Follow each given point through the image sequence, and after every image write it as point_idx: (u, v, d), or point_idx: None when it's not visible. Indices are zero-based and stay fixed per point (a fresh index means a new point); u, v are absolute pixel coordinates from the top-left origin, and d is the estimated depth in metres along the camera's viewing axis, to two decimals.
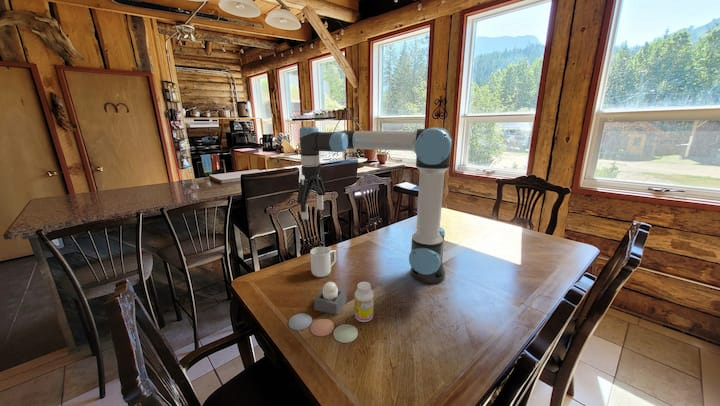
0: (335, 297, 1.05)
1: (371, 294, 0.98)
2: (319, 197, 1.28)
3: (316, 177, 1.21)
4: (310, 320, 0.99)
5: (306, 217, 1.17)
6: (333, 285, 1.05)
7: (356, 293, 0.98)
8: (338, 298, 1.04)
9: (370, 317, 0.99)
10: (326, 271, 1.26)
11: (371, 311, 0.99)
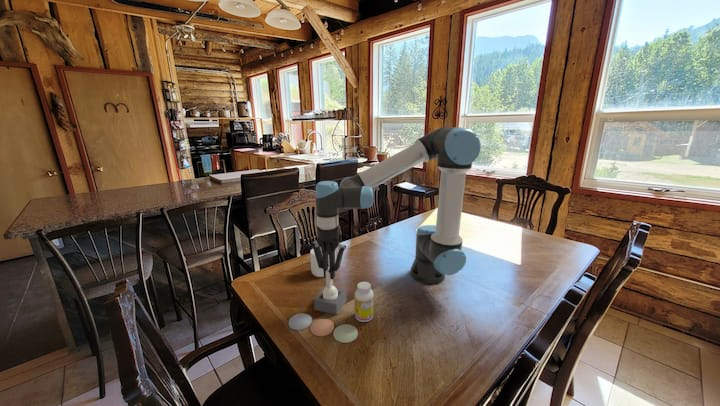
0: None
1: (371, 294, 0.98)
2: None
3: (334, 242, 0.98)
4: (310, 320, 0.99)
5: None
6: (333, 288, 1.05)
7: (356, 293, 0.98)
8: (338, 298, 1.04)
9: (370, 317, 0.99)
10: None
11: (371, 311, 0.99)
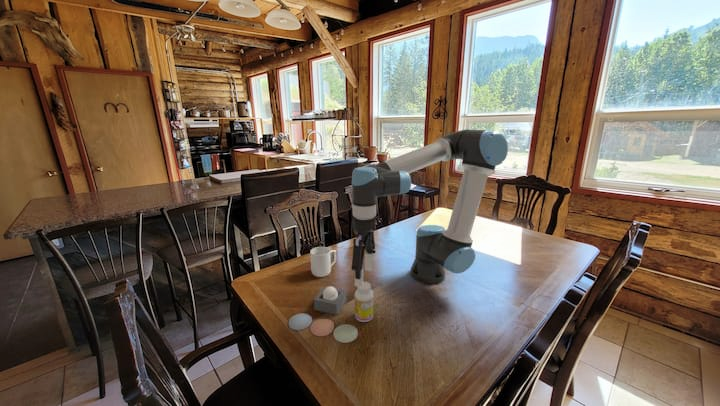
0: None
1: (371, 294, 0.98)
2: (368, 256, 1.00)
3: None
4: (310, 320, 0.99)
5: (361, 285, 0.92)
6: (333, 290, 1.05)
7: (356, 293, 0.98)
8: (338, 298, 1.04)
9: (370, 317, 0.99)
10: (326, 271, 1.26)
11: (371, 311, 0.99)
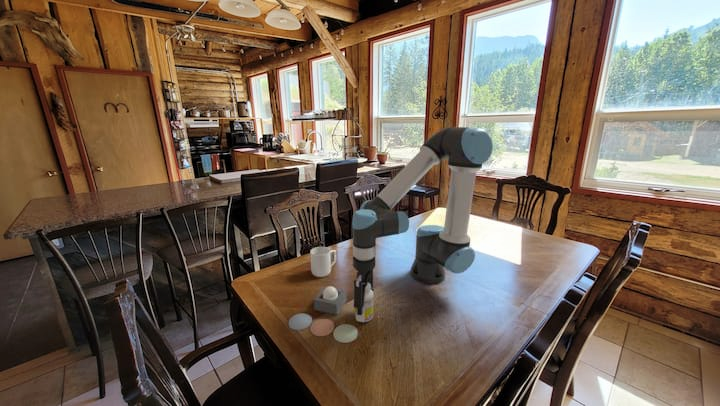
0: None
1: (371, 294, 0.98)
2: None
3: None
4: (310, 320, 0.99)
5: (362, 320, 0.97)
6: (333, 290, 1.05)
7: None
8: (338, 298, 1.04)
9: (370, 317, 0.99)
10: (326, 271, 1.26)
11: (371, 311, 0.99)
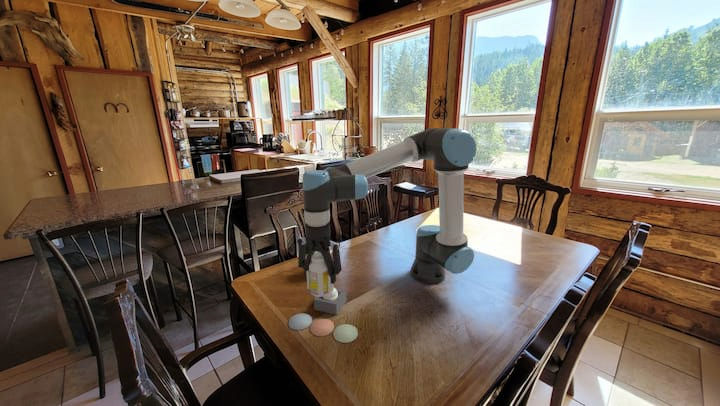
0: None
1: (314, 267, 0.87)
2: None
3: (324, 241, 0.85)
4: (310, 320, 0.99)
5: None
6: (333, 290, 1.05)
7: None
8: (338, 298, 1.04)
9: (312, 291, 0.90)
10: None
11: (312, 286, 0.89)
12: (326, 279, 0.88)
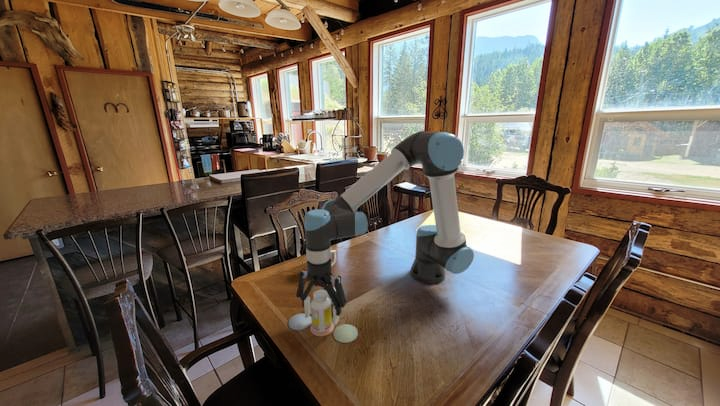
0: None
1: (315, 305, 0.91)
2: None
3: (325, 277, 0.89)
4: (310, 320, 0.99)
5: None
6: None
7: None
8: None
9: (313, 327, 0.94)
10: None
11: (314, 322, 0.93)
12: (327, 316, 0.92)
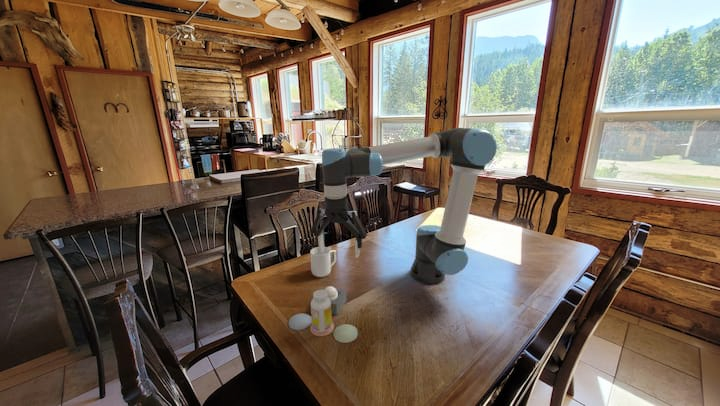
0: None
1: (315, 305, 0.91)
2: None
3: (342, 213, 0.94)
4: (310, 320, 0.99)
5: None
6: (333, 290, 1.05)
7: None
8: (338, 298, 1.04)
9: (313, 327, 0.94)
10: (326, 271, 1.26)
11: (314, 322, 0.93)
12: (327, 316, 0.92)
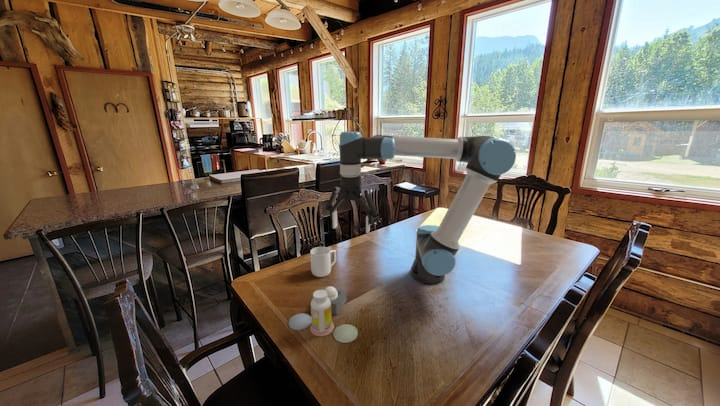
0: None
1: (315, 305, 0.91)
2: None
3: (356, 191, 1.04)
4: (310, 320, 0.99)
5: None
6: (333, 290, 1.05)
7: None
8: (338, 298, 1.04)
9: (313, 327, 0.94)
10: (326, 271, 1.26)
11: (314, 322, 0.93)
12: (327, 316, 0.92)
